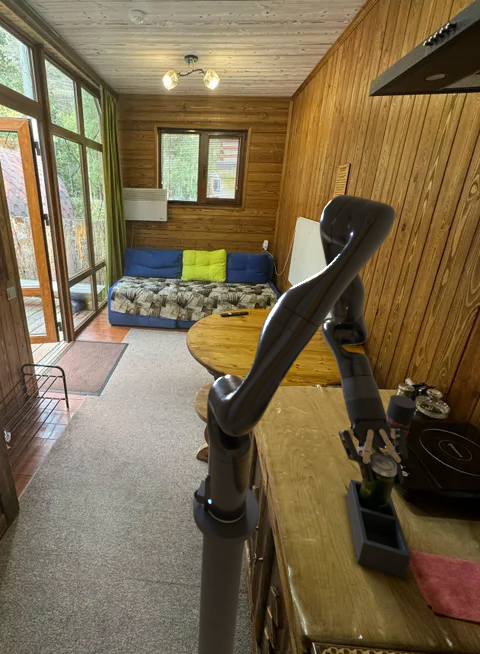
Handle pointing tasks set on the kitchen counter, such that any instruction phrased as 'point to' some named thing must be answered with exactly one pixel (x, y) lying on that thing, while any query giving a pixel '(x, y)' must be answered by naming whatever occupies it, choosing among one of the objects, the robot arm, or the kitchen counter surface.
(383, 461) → the beer can
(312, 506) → the kitchen counter surface
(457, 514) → the kitchen counter surface
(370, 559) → the box
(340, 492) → the kitchen counter surface
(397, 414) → the deodorant
